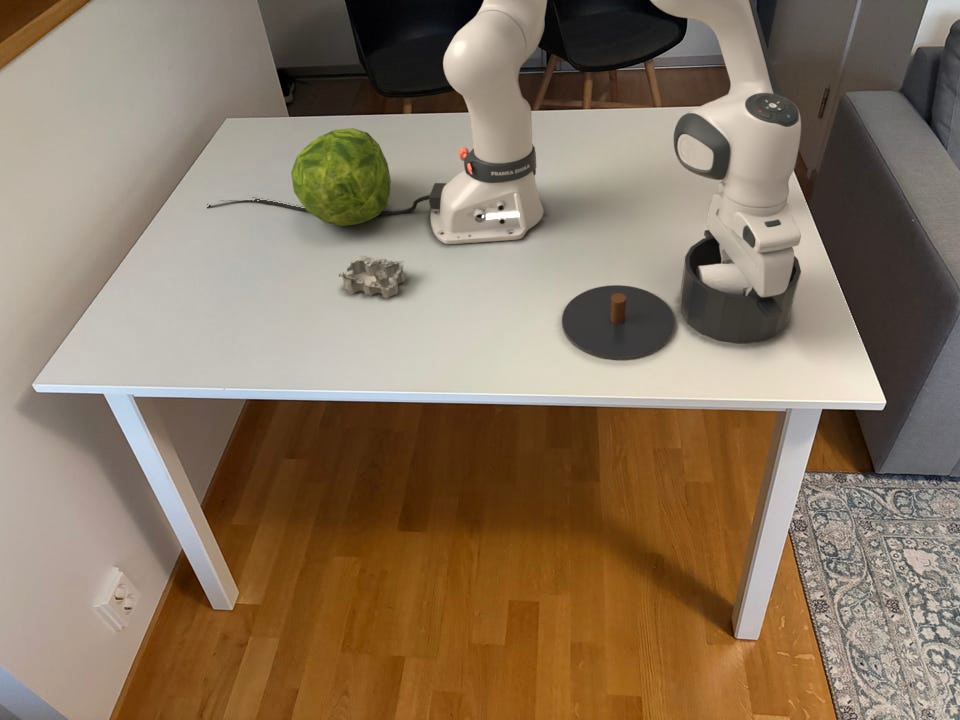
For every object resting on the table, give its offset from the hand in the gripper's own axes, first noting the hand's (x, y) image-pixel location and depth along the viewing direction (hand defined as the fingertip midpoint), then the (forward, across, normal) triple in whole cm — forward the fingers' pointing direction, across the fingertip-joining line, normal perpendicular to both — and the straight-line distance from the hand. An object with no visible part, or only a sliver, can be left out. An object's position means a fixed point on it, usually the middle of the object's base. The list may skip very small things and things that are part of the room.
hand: (738, 283), depth 118 cm
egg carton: (+6, -25, -57) cm, 63 cm away
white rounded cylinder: (+2, 0, 0) cm, 3 cm away
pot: (+6, 0, 0) cm, 6 cm away
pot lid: (+5, -2, -19) cm, 20 cm away
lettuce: (+6, -51, -60) cm, 79 cm away
